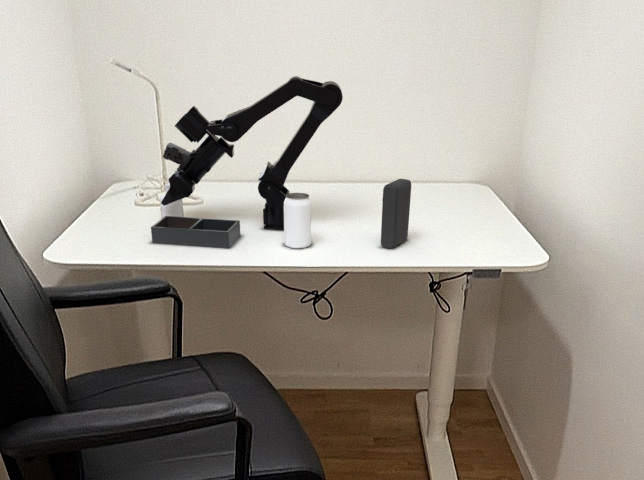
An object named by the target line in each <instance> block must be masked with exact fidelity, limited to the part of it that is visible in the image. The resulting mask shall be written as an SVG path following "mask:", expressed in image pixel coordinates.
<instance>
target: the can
mask: <svg viewBox="0 0 644 480" xmlns="http://www.w3.org/2000/svg"><path fill="white" fill-rule="evenodd" d="M283 241H284V243H283V244H284V245H285V247H287V248H288V249H296V250H299V249H306V248H309V247H310V245H311V244H312V201H311V200H310V195H309V194H308V193H304V192H290V193H289V194H286V198H285V200H284V230H283Z"/></svg>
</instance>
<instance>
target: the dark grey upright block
mask: <svg viewBox="0 0 644 480" xmlns="http://www.w3.org/2000/svg"><path fill="white" fill-rule="evenodd" d="M411 197H412V182H411V180H410V179H406V178H398V179H395V180H394V181H391V182H389V183H387V184H384V186H383V189H382V207H381V228H380V229H381V230H380V245H381V247H382V248H387V249H394V248H395V247H397V246H399V245H400V244H403V242H405V241H407V239H408V236H409V234H408V233H409V223H410V212H411V211H410V210H411Z"/></svg>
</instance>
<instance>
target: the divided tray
mask: <svg viewBox="0 0 644 480" xmlns="http://www.w3.org/2000/svg"><path fill="white" fill-rule="evenodd" d="M150 233H151V243H152V244H159V245H173V246H188V247H191V246H192V247H204V248H217V249H219V248H220V249H230V248H231V247H232V246H233V245H234V244H235V243H236V242H237V241H238V239H239V238H240V237H241V220H239V219H238V220H237V219H222V218H207V217H206V218H204V217H192V216H191V217H189V216H184V217H175V216H165V217H163V218H162V219H161V218H160V219H159V220H158V221H157V222H156V223H154V224H153V225H152V226H150Z"/></svg>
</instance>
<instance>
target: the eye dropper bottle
mask: <svg viewBox="0 0 644 480" xmlns="http://www.w3.org/2000/svg"><path fill="white" fill-rule="evenodd" d="M169 188H170V183H169V178H167V181H166V183H165V184H164V192H165V193H163V194H162V195H160V196H159V207H160V208H159V209H160V220H161V219H162V218H163V217H165V216H175V217H185V216H184V203H183V199H180V200H177V201H175V202H172V203H170V204H168V205H165V206H164V205H162V204H161V202H162V200H163V198H164V197H165V195H166V193H167V192H168V190H169Z"/></svg>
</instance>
